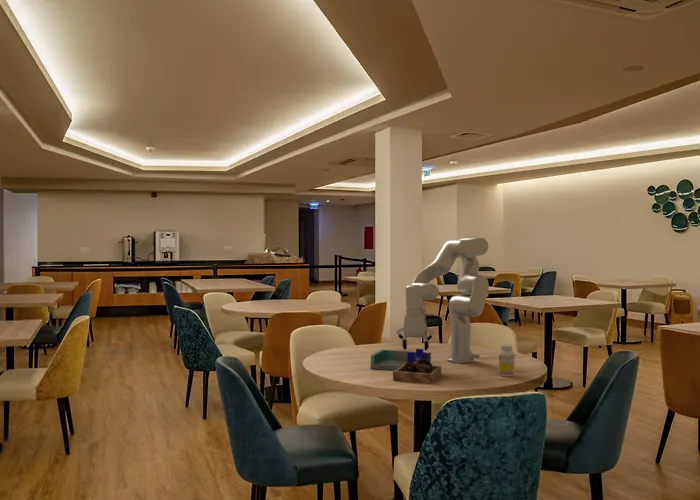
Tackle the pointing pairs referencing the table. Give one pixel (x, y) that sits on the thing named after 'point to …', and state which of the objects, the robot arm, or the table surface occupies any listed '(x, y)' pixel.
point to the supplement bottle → (506, 361)
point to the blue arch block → (413, 357)
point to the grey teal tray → (393, 359)
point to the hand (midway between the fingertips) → (415, 349)
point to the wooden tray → (417, 374)
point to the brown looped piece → (418, 366)
